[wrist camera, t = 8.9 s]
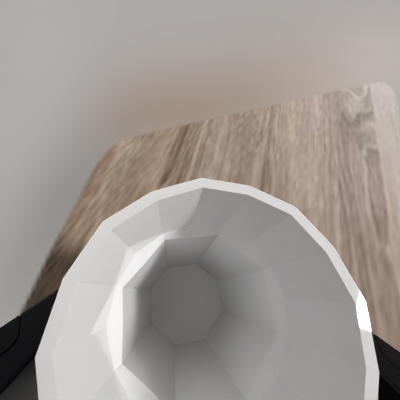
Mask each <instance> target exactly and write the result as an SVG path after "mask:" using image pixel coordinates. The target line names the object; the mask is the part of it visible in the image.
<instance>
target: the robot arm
mask: <svg viewBox="0 0 400 400" xmlns="http://www.w3.org/2000/svg"><path fill="white" fill-rule="evenodd" d="M58 291H59V289H58V290H57V291H55V292H54V293H52V294H51V295H49V296H48V297H46V298H45V299H43V300H42V301H40V302H39V303H37V304H36V305H34V306H33V307H31V308H30V309H28V310H27V311H25V312H24V313H22V314H21V316H17V317H16V318H14V319H13V320H11V321H10V322H8V323H7V324H5V325H4V326H2V327H1V328H0V400H38V388H37V377H36V365H35V356H36V354H37V351H38V348H39V345H40V342H41V339H42V337H43V334H44V331H45V328H46V325H47V322H48V319H49V317H50V314H51V311H52V308H53V305H54V302H55V300H56V297H57V294H58ZM372 337H373V342H374V347H375V353H376V358H377V363H378V369H379V387H378V400H400V352H399V351H397V350H396V349H394V348H393V347H392V346H390V345H389V344H387V343H386V342H385V341H383V340H382V339H380V338H379V337H378V336H376V335H374V334H373V333H372Z"/></svg>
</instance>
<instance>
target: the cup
mask: <svg viewBox="0 0 400 400" xmlns="http://www.w3.org/2000/svg"><path fill="white" fill-rule="evenodd" d="M35 365H36V377H37V388H38V400H378V387H379V369H378V363H377V358H376V353H375V347H374V342H373V337H372V332H371V326H370V321H369V316H368V310H367V305H366V301H365V299H364V298H363V296H362V294H361V292H360V291H359V289H358V287H357V286H356V284H355V282H354V280H353V279H352V277H351V275H350V274H349V272H348V270H347V269H346V267H345V265H344V263H343V262H342V260H341V258H340V257H339V255H338V253H337V251H336V250H335V248H334V247H333V246H332V244H331V243H330V242H329V241H328V240H327V239H326V238H325V237H324V236H323V235H322V234H321V233H320V232H319V231H318V230H317V229H316V228H315V227H314V226H313V225H312V224H311V222H310V221H309V220H308V219H307V218H306V217H305V216H304V215H303V214H302V213H301V212H300V211H299V210H298V209H297V208H296V207H295V206H293V205H290V204H288V203H286V202H284V201H282V200H280V199H277V198H275V197H273V196H271V195H269V194H266V193H264V192H262V191H260V190H258V189H256V188H253V187H251V186H248V185H241V184H235V183H229V182H223V181H217V180H211V179H205V178H199V179H196V180H192V181H188V182H185V183H181V184H177V185H174V186H170V187H166V188H163V189H159V190H155V191H152V192H150V193H149V194H147V195H145V196H144V197H142V198H140V199H139V200H137V201H135V202H134V203H132V204H130V205H129V206H127V207H126V208H124V209H122V210H121V211H119V212H117V213H116V214H114V215H112V216H111V217H109V218H108V219H106V220H104V221H103V222H102V223H101V224H100V226H99V227H98V229H97V230H96V231H95V233H94V234H93V236H92V237H91V239H90V240H89V242H88V243H87V244H86V246H85V247H84V249H83V250H82V252H81V253H80V255H79V256H78V257H77V259H76V260H75V262H74V263H73V265H72V266H71V268H70V269H69V270H68V272H67V273H66V275H65V276H64V278H63V280H62V283H61V285H60V288H59V291H58V294H57V297H56V300H55V302H54V305H53V308H52V311H51V314H50V317H49V319H48V322H47V325H46V328H45V331H44V334H43V337H42V339H41V342H40V345H39V348H38V351H37V354H36V356H35Z"/></svg>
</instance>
